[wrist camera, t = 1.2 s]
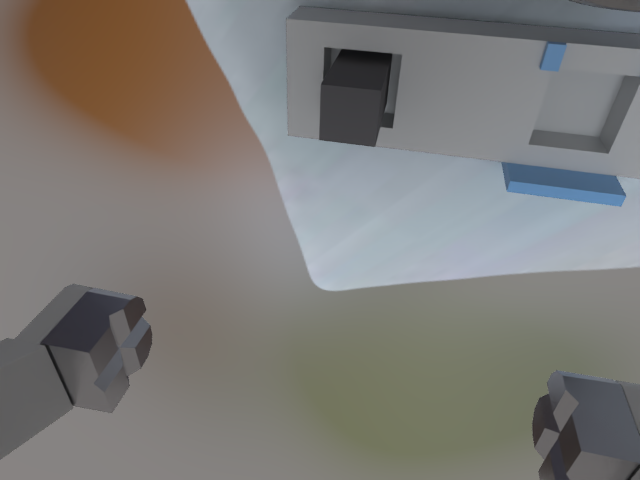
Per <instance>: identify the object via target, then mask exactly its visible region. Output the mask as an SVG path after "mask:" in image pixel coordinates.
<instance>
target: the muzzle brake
mask: <svg viewBox="0 0 640 480" xmlns="http://www.w3.org/2000/svg"><path fill="white" fill-rule="evenodd" d="M569 1H573V2H576V3H580V4H584V5H589V6H594V7H600V8H606V9H614V10H622V11H633V12H640V0H569Z"/></svg>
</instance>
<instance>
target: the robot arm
mask: <svg viewBox="0 0 640 480" xmlns="http://www.w3.org/2000/svg"><path fill="white" fill-rule="evenodd" d="M145 311H146V307H145V304H144V301H143V299H142V298H140V297H137V296H133V295H127V294H123V293H118V292H113V291H108V290H103V289H98V288H92V287H87V286H82V285H77V284H72V285H69V286H67V287H65V288H64V289H63V290H62V291H61V292H60V293H59V294H58V295H57V296H56V297H55V298H54V299H53V300H52V301H51V302H50V303H49V304H48V305H47V306H46V307H45V308H44V309H43V310H42V311H41V312H40V313H39V314H38V315H37V316H36V317H35V318H34V319H33V320H32V322H30V324H29V325H28V326H27V327H26V328H25V329H24V330H23V331H22V332H21V333H20V334H19V335H18V336H17V337H16V338H15V339H9V338H6V339H4V340H2V341H0V460H1V459H2V458H3V457H5V456H6V455H8V454H9V453H11V452H12V451H13V450H15V449H16V448H18V447H19V446H21V445H22V444H23V443H25V442H26V441H28V440H29V439H30V438H32V437H33V436H35V435H36V434H37V433H39V432H40V431H42V430H43V429H45V428H46V427H48V426H49V425H50V424H52V423H53V422H55V421H56V420H57V419H59V418H60V417H62V416H63V415H65V414H66V413H67V412H69V411H70V410H72V409H73V406H76V407H82V408H87V409H92V410H98V411H103V412H108V413H112V412H113V411H114V409H115V408H116V406H117V405H118V403H119V401H120V400H121V398H122V397H123V395H124V394H125V392H126V391H127V389H128V388H129V386H130V385H129V377H128V376H129V375H130V374H132V373H134V372H136V371H137V370H139V369H141V367H142V366H143V364H144V362H145V361H146V359H147V357H148V355H149V351H150V348H151V345H152V331H151V326H150V325H149V323H147V321H146V320H144V318H143V317H142V315H143V314H144V313H145ZM547 386H548V391H549V394H547V395H544V396H542V397H540V398H539V400H538V402H537V405H536V407H535V410H534V417H533V423H532V430H533V441H534V447H535V449H536V450H537V452H538V453H539V454H540V455H541V456H542V458H543V459H544V462H543V464H542V466H541V467H540V469H539V478H540V480H640V384H634V383H629V382H622V381H614V380H612V379H606V378H600V377H594V376H588V375H582V374H576V373H570V372H564V371H558V370H556V371H555V372H553V373H552V374H551V376H550V378H549V380H548V382H547Z"/></svg>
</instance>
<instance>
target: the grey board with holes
mask: <svg viewBox="0 0 640 480" xmlns="http://www.w3.org/2000/svg"><path fill="white" fill-rule="evenodd" d="M286 42H287V109H288V136H295V137H303V138H311V139H319V126H320V92H321V83H322V81H323V80H324V78H325V76H326V75H327V73H328V71H329V70H330V68H331V66H332V65H333V63H334V61H335V59H336V58H337V56H338V54H339V53H340V51H341V49H350V50H360V51H371V52H382V53H392V63H391V71H390V80H389V88H388V96H387V104H386V108H385V111H384V115H383V119H382V123H381V126H380V130H379V134H378V138H377V142H376V145H375V146H377V147H385V148H393V149H401V150H409V151H417V152H425V153H433V154H442V155H450V156H458V157H466V158H474V159H482V160H490V161H498V162H502V167H503V173H504V179H505V184H506V190H507V192H515V193H522V194H530V195H537V196H545V197H553V198H560V199H568V200H575V201H583V202H591V203H598V204H606V205H613V206H622V204H623V202H624V200H625V198H626V194H625V192H624V191H623V189H622V187H621V185H620V183H619V181H618V179H617V178H616V176H620V177H628V178H637V179H640V34H633V33H621V32H609V31H597V30H584V29H572V28H560V27H548V26H535V25H523V24H511V23H499V22H486V21H474V20H462V19H450V18H437V17H425V16H413V15H401V14H388V13H376V12H364V11H352V10H339V9H327V8H315V7H303V6H299V7H298V8H297V9H296V10H295V11H294V12H293V13H292V14H291V15H290V16H289V17H288V18H286Z"/></svg>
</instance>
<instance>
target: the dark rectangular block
mask: <svg viewBox="0 0 640 480" xmlns="http://www.w3.org/2000/svg"><path fill="white" fill-rule="evenodd" d="M391 63H392V53H382V52H371V51H360V50H350V49H341V51H340V53H339V54H338V56H337V58H336V59H335V61H334V63H333V65H332V66H331V68H330V70H329V71H328V73H327V75H326V76H325V78H324V80H323V81H322V83H321V92H320V126H319V140H324V141H332V142H340V143H348V144H356V145H364V146H372V147H375V145H376V142H377V138H378V134H379V130H380V126H381V123H382V119H383V115H384V111H385V108H386V104H387V96H388V88H389V80H390V71H391Z"/></svg>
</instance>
